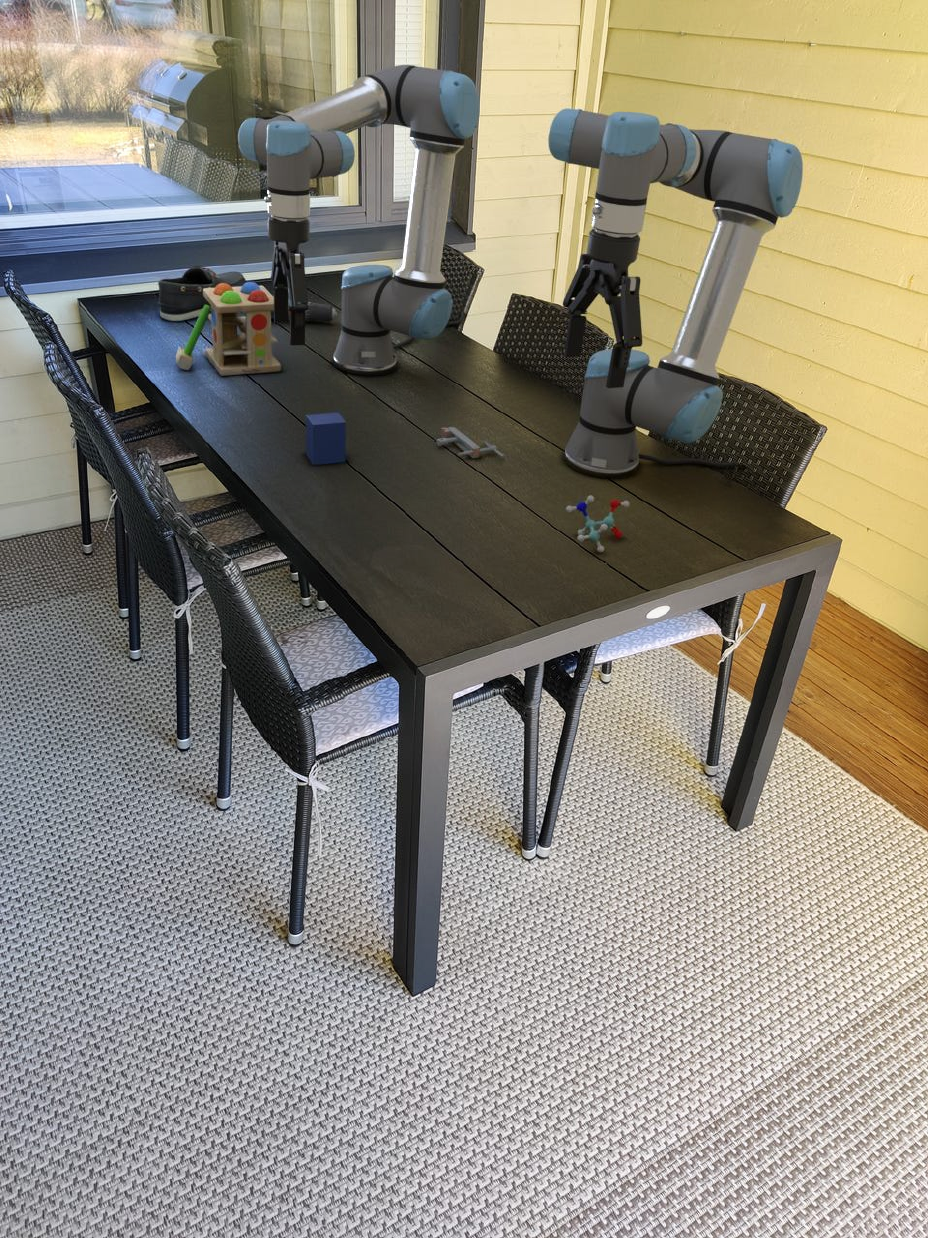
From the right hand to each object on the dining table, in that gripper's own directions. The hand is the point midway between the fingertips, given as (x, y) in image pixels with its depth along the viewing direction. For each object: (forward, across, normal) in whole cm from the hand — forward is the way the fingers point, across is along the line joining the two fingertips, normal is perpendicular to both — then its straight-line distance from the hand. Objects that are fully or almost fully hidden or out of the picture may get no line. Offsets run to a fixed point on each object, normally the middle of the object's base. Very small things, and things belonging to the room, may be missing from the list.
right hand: (592, 371), depth 156 cm
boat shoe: (+32, -142, -35) cm, 149 cm away
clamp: (+32, -40, -2) cm, 51 cm away
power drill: (+32, -132, -10) cm, 136 cm away
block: (+32, -43, -31) cm, 62 cm away
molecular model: (+32, 0, +6) cm, 32 cm away
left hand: (+10, -55, -34) cm, 66 cm away
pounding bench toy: (+32, -97, -39) cm, 109 cm away
